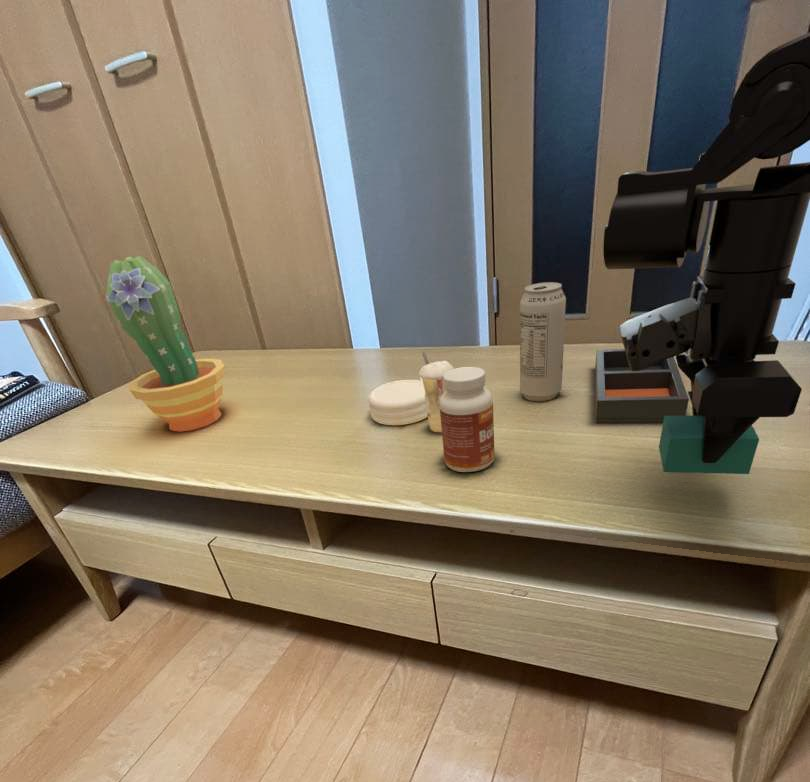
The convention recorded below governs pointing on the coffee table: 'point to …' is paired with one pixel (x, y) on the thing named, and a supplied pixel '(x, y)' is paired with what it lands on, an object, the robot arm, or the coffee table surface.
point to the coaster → (398, 403)
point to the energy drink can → (542, 340)
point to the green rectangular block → (685, 448)
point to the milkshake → (433, 389)
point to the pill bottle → (467, 420)
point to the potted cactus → (163, 348)
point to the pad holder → (636, 390)
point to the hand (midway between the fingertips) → (704, 448)
